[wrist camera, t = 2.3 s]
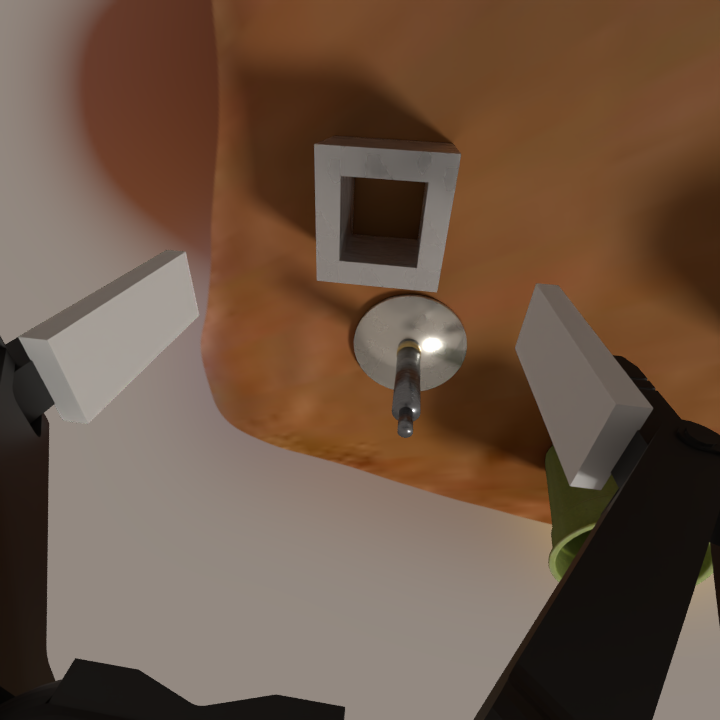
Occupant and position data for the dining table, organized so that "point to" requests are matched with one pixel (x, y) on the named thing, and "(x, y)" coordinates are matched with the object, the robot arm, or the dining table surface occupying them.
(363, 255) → the collar
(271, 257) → the dining table surface
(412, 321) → the post
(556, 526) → the plant pot
